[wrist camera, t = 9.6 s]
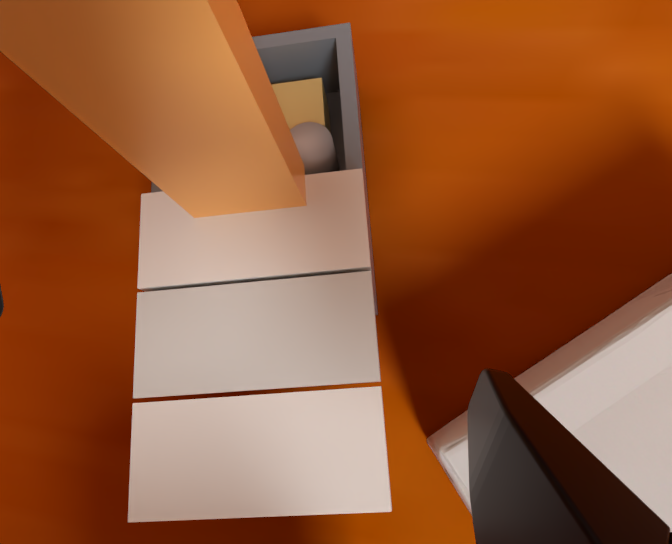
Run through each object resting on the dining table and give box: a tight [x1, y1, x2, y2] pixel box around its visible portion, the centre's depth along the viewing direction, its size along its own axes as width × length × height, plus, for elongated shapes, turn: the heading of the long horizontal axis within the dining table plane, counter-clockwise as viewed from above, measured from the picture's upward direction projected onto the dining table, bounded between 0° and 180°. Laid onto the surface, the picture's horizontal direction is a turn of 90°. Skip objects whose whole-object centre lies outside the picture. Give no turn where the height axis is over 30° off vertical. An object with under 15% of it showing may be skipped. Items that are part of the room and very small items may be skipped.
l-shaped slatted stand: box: [0, 0, 392, 523], centre depth 11 cm, size 11×8×11 cm
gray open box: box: [151, 23, 378, 315], centre depth 20 cm, size 11×8×4 cm
